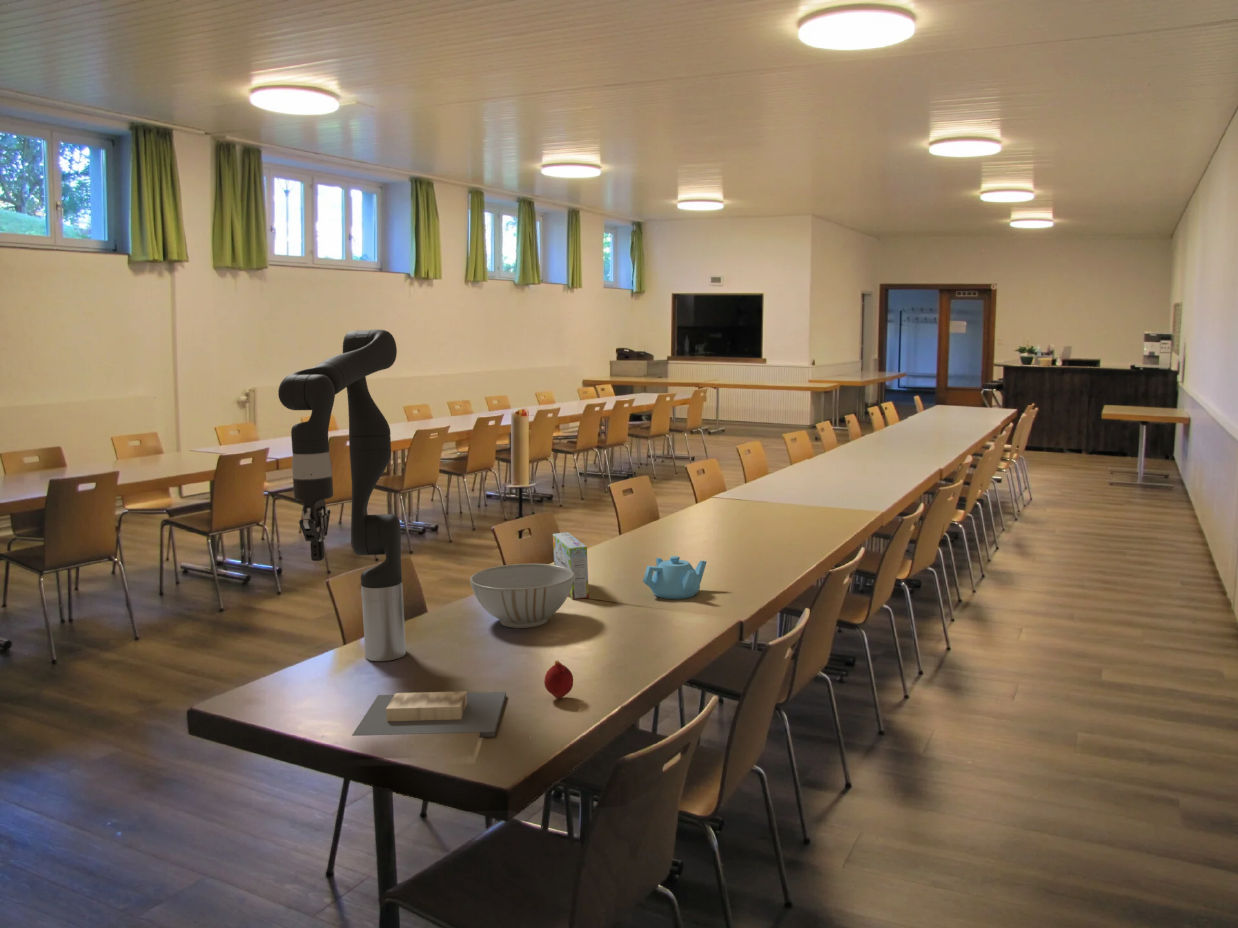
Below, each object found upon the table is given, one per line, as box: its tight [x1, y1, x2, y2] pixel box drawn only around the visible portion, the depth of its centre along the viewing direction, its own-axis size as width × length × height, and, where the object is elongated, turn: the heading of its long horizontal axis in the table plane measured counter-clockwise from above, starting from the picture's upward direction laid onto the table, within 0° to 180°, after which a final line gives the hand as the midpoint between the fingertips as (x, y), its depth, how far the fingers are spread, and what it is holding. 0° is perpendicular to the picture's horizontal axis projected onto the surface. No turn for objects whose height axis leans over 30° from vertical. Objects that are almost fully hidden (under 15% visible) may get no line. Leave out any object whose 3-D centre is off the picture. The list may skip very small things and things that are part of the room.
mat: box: [351, 691, 507, 738], centre depth 185 cm, size 20×26×1 cm
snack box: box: [552, 531, 590, 601], centre depth 276 cm, size 21×6×15 cm, turn 17°
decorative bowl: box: [469, 563, 575, 629], centre depth 247 cm, size 27×27×12 cm
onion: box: [543, 659, 574, 700], centre depth 192 cm, size 6×6×8 cm
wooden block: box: [386, 690, 468, 721], centre depth 184 cm, size 8×3×14 cm
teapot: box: [642, 555, 707, 600], centre depth 270 cm, size 15×15×11 cm
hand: (318, 559), depth 193 cm, fingers closed
